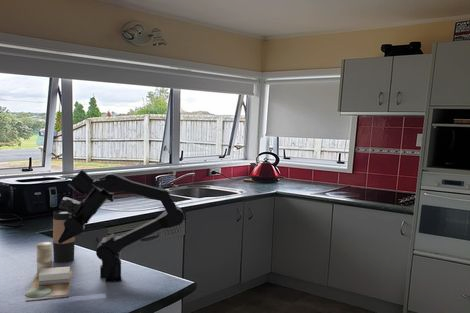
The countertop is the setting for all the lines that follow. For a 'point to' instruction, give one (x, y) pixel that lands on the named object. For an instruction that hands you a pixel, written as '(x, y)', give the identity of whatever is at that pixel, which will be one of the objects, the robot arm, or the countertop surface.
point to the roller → (44, 256)
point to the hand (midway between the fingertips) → (61, 238)
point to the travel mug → (65, 249)
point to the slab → (54, 276)
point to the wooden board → (48, 290)
